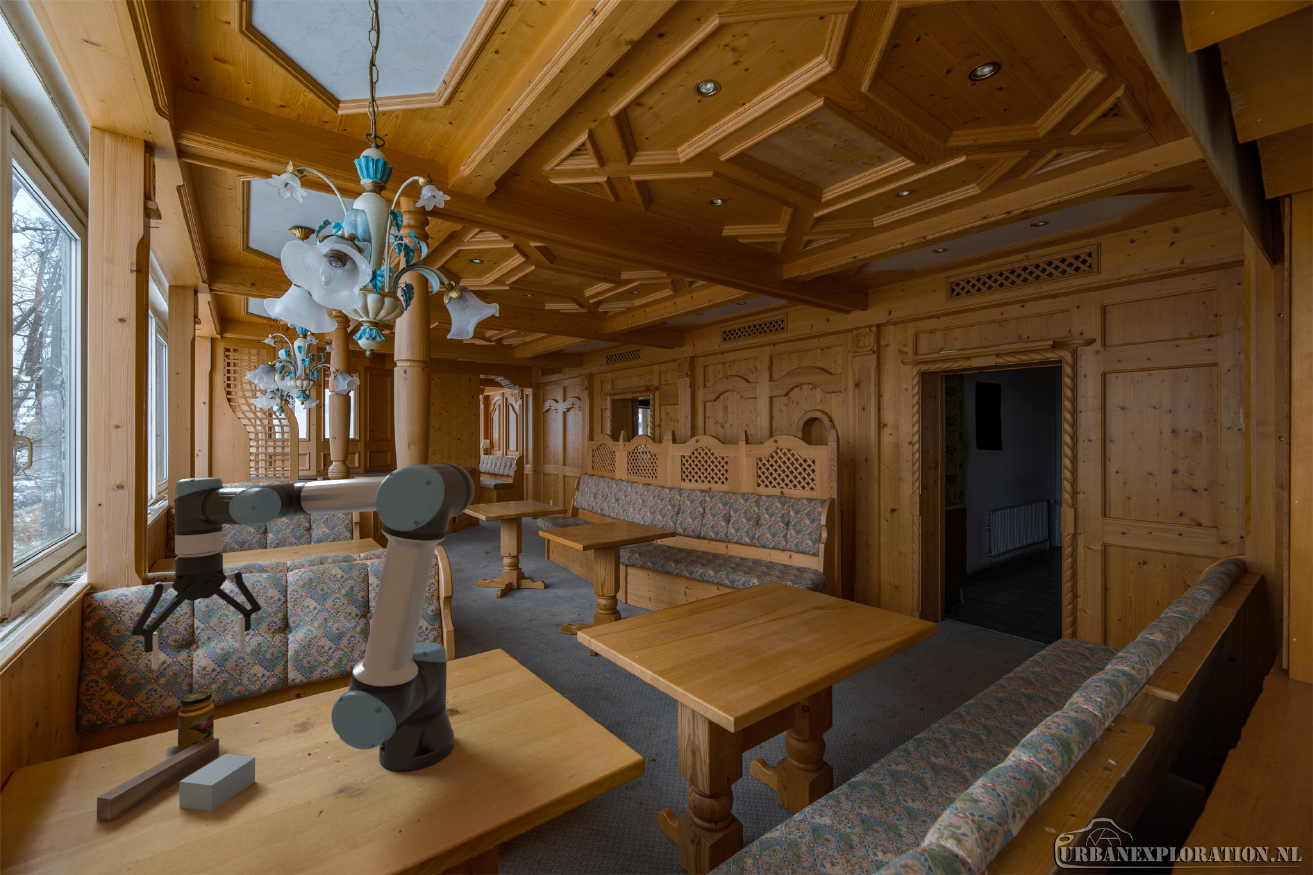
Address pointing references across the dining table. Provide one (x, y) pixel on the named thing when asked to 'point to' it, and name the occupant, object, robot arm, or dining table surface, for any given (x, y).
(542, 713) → the dining table surface
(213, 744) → the board
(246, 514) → the robot arm
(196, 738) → the condiment
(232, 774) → the block
